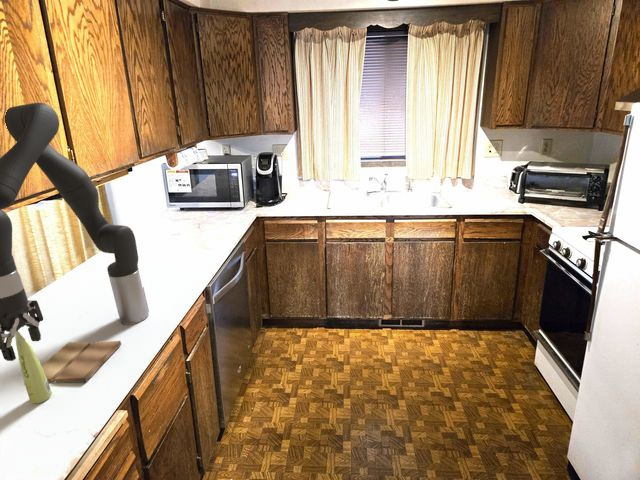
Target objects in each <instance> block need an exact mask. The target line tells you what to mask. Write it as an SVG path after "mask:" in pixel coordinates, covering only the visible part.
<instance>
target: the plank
mask: <svg viewBox="0 0 640 480" xmlns="http://www.w3.org/2000/svg"><path fill="white" fill-rule="evenodd" d="M121 342H122V341H121V340H112V341H110V340H109V341H93V342H92V343H90V344H91V345H90V346H89V347H88V348H87V349H86V350H85V351H84V352H83V353H81V354H80V355H79V356H78V357H77V358H76V359H75V360H74V361H73V362H72V363H71V364H70V365H69V366H68V367H67V368H66V369H65V370H63V371H62V372H61V373H60V374H59V375H58V376H57V377H56V378H55V382H54V383H57V384H58V383H59V384H60V383H80V382H81V383H85V382H87V381H88V380H89V379H90V378H91V377H92V376H93V375H94V374H95V373H96V372H97V370H99V369H100V368H101V366H103V365H104V363H105V362H107V360H108V359H109V358H110V357H111V356H112V355H113V354H114V352H116V351H117V350H118V348H119V347H120V346H122V343H121Z"/></svg>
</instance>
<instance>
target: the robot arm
mask: <svg viewBox="0 0 640 480" xmlns="http://www.w3.org/2000/svg"><path fill="white" fill-rule="evenodd" d="M7 109H8V108H7ZM7 109H6V110H7ZM5 123H6V126H7V128H6V130H7V129H8V130H7V132H8V131H9V132H8V134H10V136H11V137H12V138H13V140H14V141H15V143H14V144H13V145H12V146H11V147H10V149H9V150H7V151H6V152H5V154H3V155H2V156H1V157H0V351H1V354H2V358H3V360H5V361H7V362H12V361H13V362H14V361H15V360H16V359H17V356H16V353H15V350H14V347H13V345H12V342H13V339H14V338H15V333H16V331H18V332H19V330H20V329H21V328H23V327H25V326H26V327H27V331H28V333H29V337H30V340H31V341H32V342H39V341H41V340H42V335H41V331H40V328H39V326H40V322H43V320H44V317H43V313H42V311H41V308H40V305H39V302H38V300H35V299H34V300H29V299H28V296H27V293H26V290H25V286H24V282H23V279H22V277H21V275H20V273H19V271H18V269H17V266H16V265H17V264H16V262H15V258H14V255H13V223H12V221H11V218H10V217H9V215H8V213H7V212H5V211H4V210H2V209H6V208H9V207H11V206H12V205H13V204H14V203H15V201H16V199H17V197H18V195H19V193H20V191H21V188H22V186H23V185H24V182H25V180H26V178H27V177H28V174H29V173H30V171H32V168H33V166H34V165H35V164H36V166H38V167H39V169H40V170H41V171H42V172H43V174H44V175H45V177H47V178H48V180H49V182H50V183H51V184H52V185H53V187H54V189H55V190H56V191H57V192H58V194H59V195H60V196H61V198H62V199H63V200H64V202H65V203H66V204H67V205H68V207H70V209H71V210H72V212H73V213H74V215H75V216H76V217H77V218H78V220H79V221H80V223H81V224H82V225H83V228H84V229H85V230H86V232H87V234H88V236H89V237H90V239H91V241H92V243H93V244H94V245H95V247H96V249H98V251H100V252H102V253H104V254H112V255H113V254H114V260H115V261H113V262H112V263H110V264H109V265H108V266H107V270H106V271H107V274H108V278H109V282H110V287H111V290H112V294H113V298H114V302H115V305H116V306H115V307H116V309H117V314H118V318H119V322H120V323H121V324H123V325H133V324H137V323H140V322H142V321H144V320H145V319H147V318H148V317H149V312H150V310H149V306H148V305H149V304H148V300H147V296H146V292H145V287H144V286H143V283H142V279H141V278H142V277H141V275H140V270H139V266H138V264H139V253H138V249H137V248H138V247H137V241H136V237H135V233H134V232H133V230H132V229H131V228H130V227H129V226H127V225H122V224H121V225H118V224H111V223H109V222H108V220H107V219H106V218H105V217H104V215H103V214H102V212H101V210H100V206H99V205H100V203H99V201H100V200H99V199H100V198H99V191H98V188H97V186H96V185H95V184H94V182H93V181H92V179H91V177H90V176H89V175H88V174H87V172H86V170H84V169H83V167H81V166H79V165H78V164H77V163H75V162H74V161H72V160H71V159H69V158H68V157H66V156H64V155H63V154H62V153H60V152H58V151H57V150H56V149H55V148H54V147H53V146H52V145H51V144H50V143H51V142H52V141H53V139H54V138H55V137H56V136H57V134H58V132H59V129H60V119H59V116H58V114H57V112H56V110H55V109H54V108H53V107H51V106H50V104H46V103H44V102H31V103H26V104H21V105H20V104H19V105H15V106H12V107H11V106H10V107H9V109H8V110H7V112H6V115H5ZM5 123H4V124H5ZM6 126H5V127H6ZM5 332H7V333H5Z"/></svg>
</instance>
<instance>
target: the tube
mask: <svg viewBox="0 0 640 480" xmlns="http://www.w3.org/2000/svg"><path fill="white" fill-rule="evenodd" d="M14 338H15V345H16V351H17V356H18V362H19V366H20V372H21V375H22V379H23V383H24V386H25V390H26V392H27V395H28V400H29V402H30V403H32V404H40V403H43V402H46V401H47V400H49V398H51V396H52V393H53V392H52V389H51V386H50V383H48V381H47V378H46V375H45V373H44V370H43V368H42V364H41V362H40V359H39V357H38V355H37V353H36V352H35V350H34V348H33V347H32V345H31V344H30V342H29V341H27V339H26V338H25V336H23V335H22V334H21V333H20V332H19V330H18V331H16V333H15V337H14Z"/></svg>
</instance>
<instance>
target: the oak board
mask: <svg viewBox="0 0 640 480" xmlns="http://www.w3.org/2000/svg"><path fill="white" fill-rule="evenodd" d="M91 344H92V343H91V342H90V341H87V342H86V341H83V342H80V341H78V342H77V341H75V342H74V341H71V342H70V341H69V342H67V343H66V344H65V345H64V346H62V347H61V348H60V349H59V350H57V352H56V353H55V354H53V355H52V357H50V358H49V359H48V360H47V361H45V362H44V363H43V364H41V366H42V368H43V370H44V373H45V375H46V378H47V381H48V383H49V384H52V383H56V382H55V378H56V377H57V376H58V375H59V374H60V373H61V372H62V371H63V370H65V369H66V368H67V367H68V366H69V365H70V364H71V363H72V362H73V361H74V360H75V359H76V358H77V357H78V356H79V355H80V354H81V353H83V352H84V351H85V350H86V349H87V348H88V347H89V346H90V345H91Z"/></svg>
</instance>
